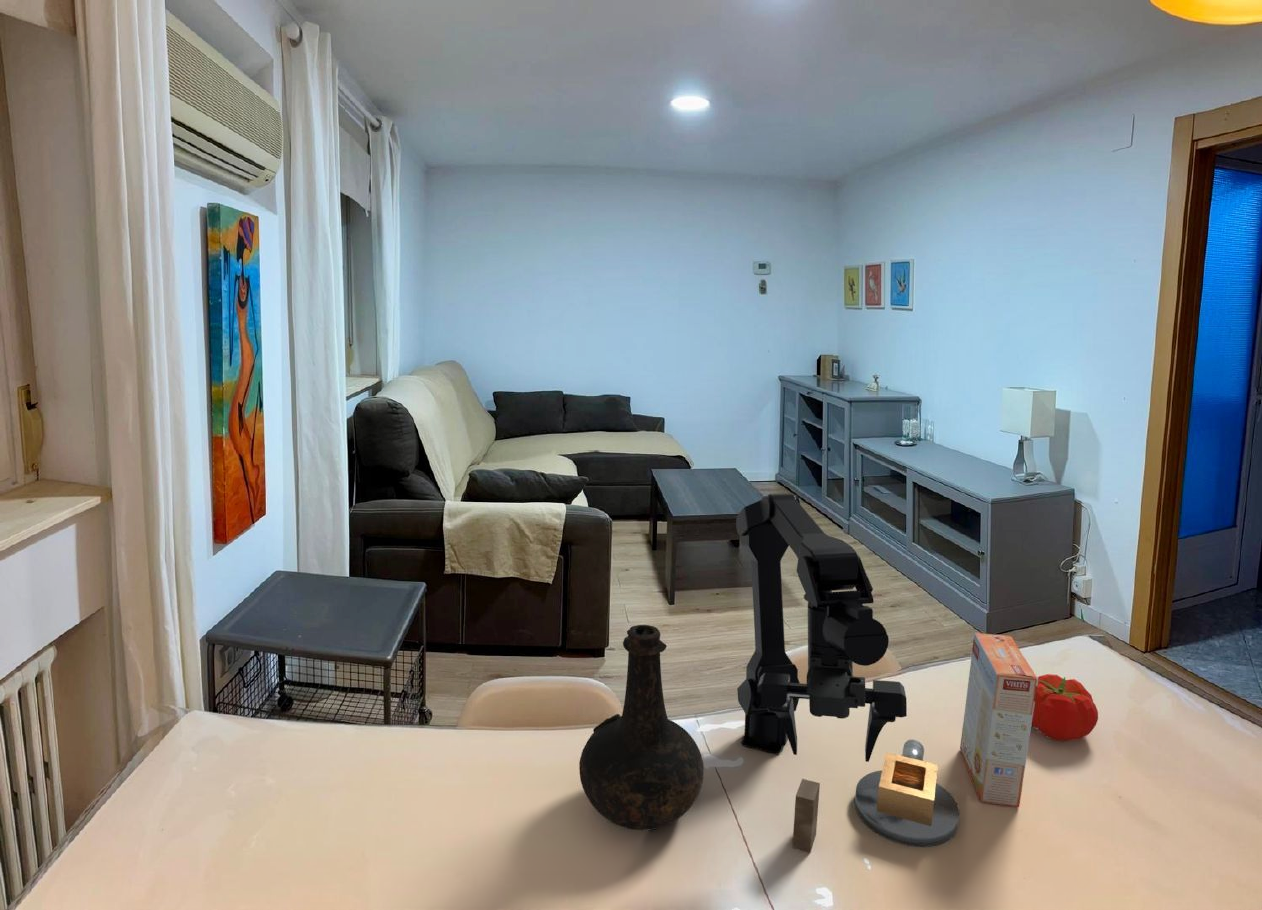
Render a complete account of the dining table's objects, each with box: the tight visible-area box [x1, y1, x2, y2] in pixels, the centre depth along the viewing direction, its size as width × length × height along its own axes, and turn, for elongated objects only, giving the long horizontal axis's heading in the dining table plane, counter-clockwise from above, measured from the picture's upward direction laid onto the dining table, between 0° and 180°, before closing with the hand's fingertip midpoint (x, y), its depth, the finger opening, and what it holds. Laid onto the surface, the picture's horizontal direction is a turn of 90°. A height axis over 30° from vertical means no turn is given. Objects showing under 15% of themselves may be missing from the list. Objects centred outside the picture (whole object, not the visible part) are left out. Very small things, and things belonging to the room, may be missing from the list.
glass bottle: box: [578, 624, 705, 831], centre depth 109 cm, size 18×18×28 cm
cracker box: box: [959, 632, 1038, 808], centre depth 118 cm, size 14×6×21 cm, turn 168°
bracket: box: [854, 739, 960, 848], centre depth 113 cm, size 14×17×6 cm
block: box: [792, 778, 821, 854], centre depth 105 cm, size 2×4×8 cm, turn 156°
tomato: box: [1031, 674, 1099, 742], centre depth 132 cm, size 13×12×8 cm
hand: (830, 756), depth 103 cm, fingers open, 9 cm apart
